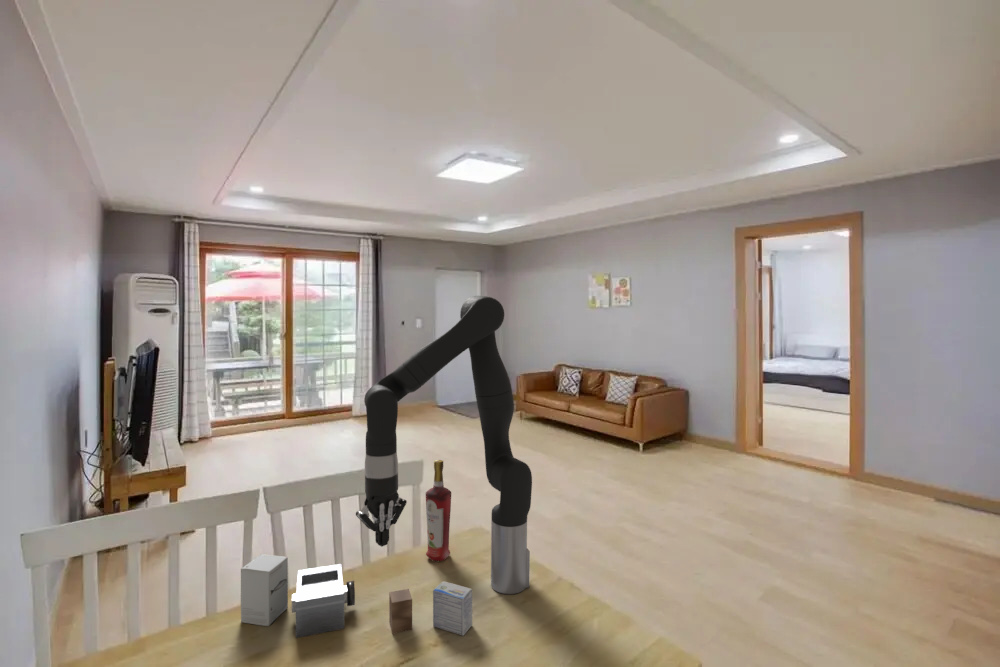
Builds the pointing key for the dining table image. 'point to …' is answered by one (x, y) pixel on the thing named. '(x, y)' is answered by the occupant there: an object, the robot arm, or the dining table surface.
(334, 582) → the grey hollow block
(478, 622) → the dining table surface
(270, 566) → the supplement box
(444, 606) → the medicine box
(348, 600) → the shaft
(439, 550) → the liquor
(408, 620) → the block
